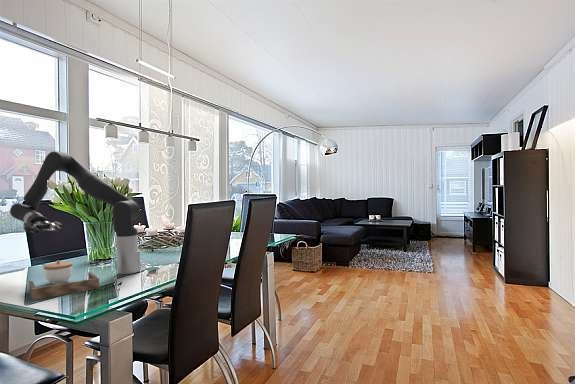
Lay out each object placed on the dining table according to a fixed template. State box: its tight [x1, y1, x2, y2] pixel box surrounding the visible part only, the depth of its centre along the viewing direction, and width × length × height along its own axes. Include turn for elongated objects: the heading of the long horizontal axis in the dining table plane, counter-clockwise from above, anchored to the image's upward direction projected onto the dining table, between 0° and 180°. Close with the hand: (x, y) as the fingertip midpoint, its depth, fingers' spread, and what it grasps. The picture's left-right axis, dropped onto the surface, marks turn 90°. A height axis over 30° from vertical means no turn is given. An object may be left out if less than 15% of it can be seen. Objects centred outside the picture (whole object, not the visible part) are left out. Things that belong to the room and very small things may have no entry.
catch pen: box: [28, 271, 100, 301], centre depth 158 cm, size 22×15×4 cm
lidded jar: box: [43, 259, 74, 285], centre depth 170 cm, size 11×11×9 cm
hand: (49, 231), depth 174 cm, fingers open, 8 cm apart
